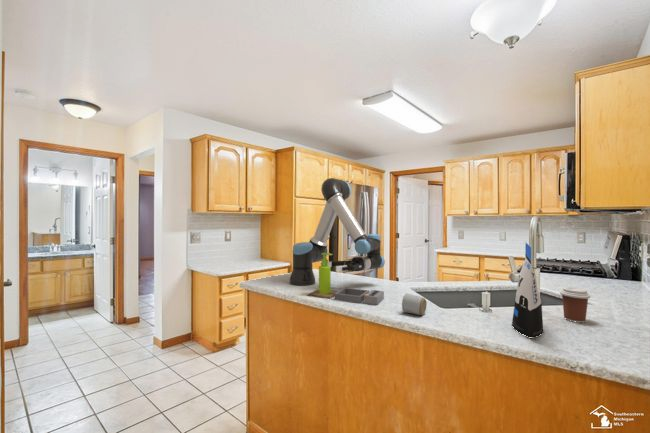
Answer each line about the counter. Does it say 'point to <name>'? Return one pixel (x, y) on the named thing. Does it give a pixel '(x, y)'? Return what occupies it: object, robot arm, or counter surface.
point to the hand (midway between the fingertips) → (328, 267)
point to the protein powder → (527, 301)
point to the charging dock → (360, 296)
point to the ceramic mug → (414, 304)
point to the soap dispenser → (324, 275)
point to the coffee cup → (575, 303)
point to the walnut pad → (317, 294)
